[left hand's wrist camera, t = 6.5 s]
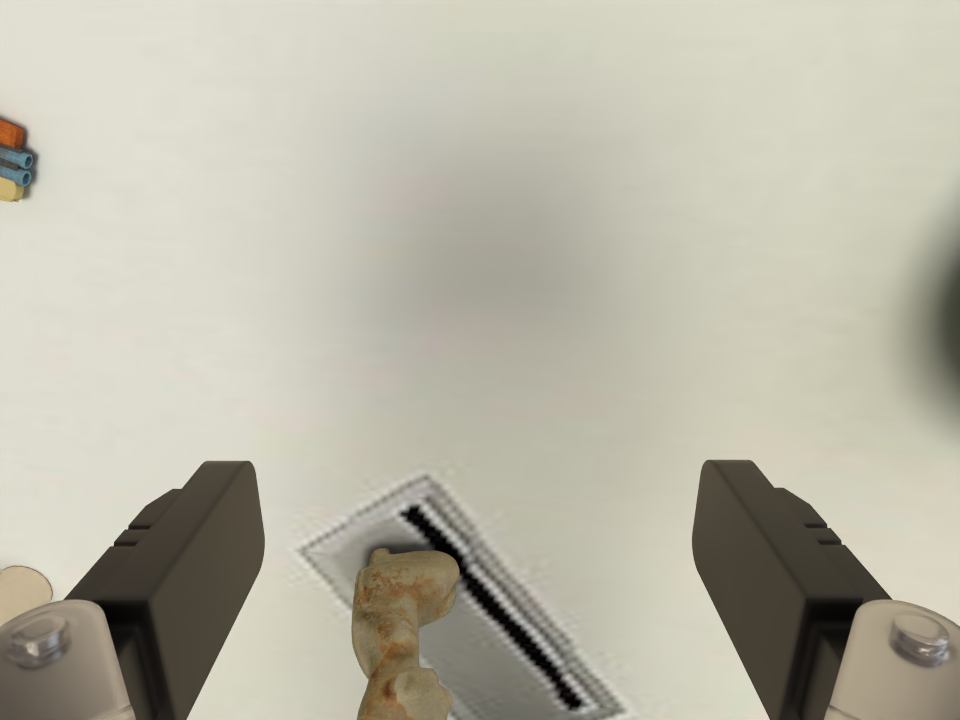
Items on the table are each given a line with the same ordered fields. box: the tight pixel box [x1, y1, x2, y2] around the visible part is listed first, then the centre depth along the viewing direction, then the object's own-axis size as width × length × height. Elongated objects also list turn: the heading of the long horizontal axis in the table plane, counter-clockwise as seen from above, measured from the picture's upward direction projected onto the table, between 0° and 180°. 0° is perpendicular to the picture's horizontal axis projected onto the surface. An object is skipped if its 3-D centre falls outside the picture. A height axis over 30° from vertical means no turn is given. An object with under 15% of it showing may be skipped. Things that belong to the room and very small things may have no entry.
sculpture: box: [352, 548, 459, 720], centre depth 40 cm, size 6×7×15 cm
